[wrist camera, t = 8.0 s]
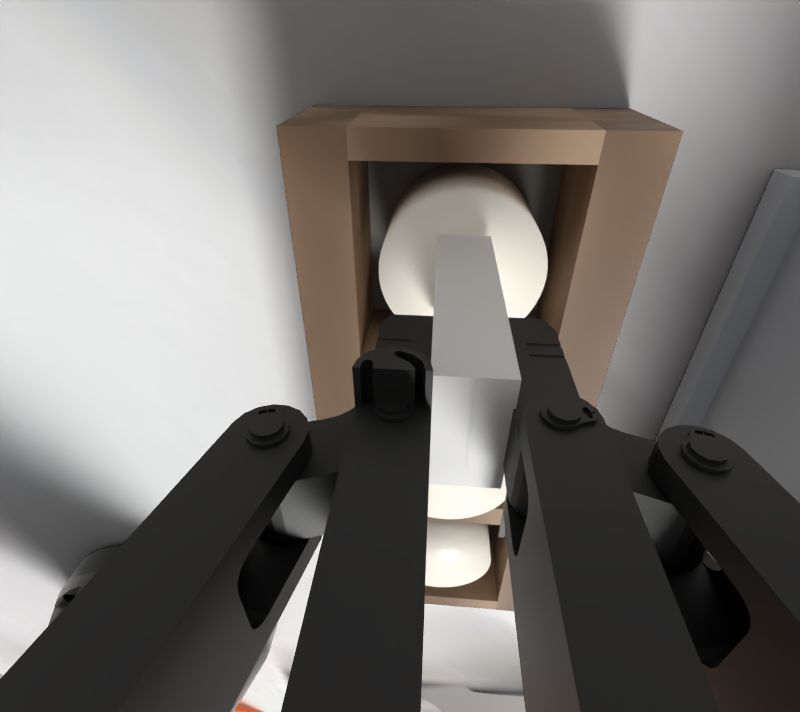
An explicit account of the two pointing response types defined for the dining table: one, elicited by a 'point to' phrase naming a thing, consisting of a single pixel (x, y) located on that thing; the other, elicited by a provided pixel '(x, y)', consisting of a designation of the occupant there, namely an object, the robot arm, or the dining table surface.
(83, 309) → the dining table surface
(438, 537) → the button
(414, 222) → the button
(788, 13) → the dining table surface
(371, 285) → the button board
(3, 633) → the dining table surface
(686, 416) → the pattern panel
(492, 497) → the middle button
